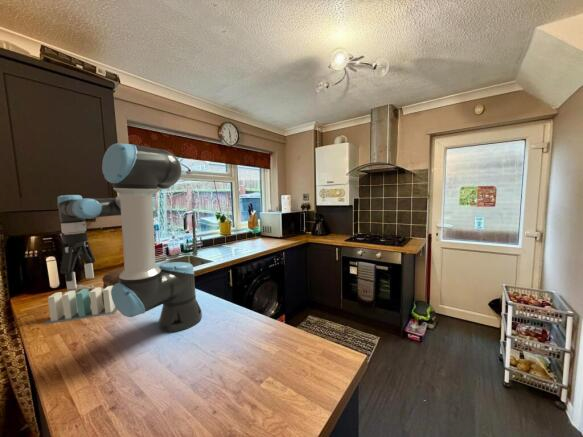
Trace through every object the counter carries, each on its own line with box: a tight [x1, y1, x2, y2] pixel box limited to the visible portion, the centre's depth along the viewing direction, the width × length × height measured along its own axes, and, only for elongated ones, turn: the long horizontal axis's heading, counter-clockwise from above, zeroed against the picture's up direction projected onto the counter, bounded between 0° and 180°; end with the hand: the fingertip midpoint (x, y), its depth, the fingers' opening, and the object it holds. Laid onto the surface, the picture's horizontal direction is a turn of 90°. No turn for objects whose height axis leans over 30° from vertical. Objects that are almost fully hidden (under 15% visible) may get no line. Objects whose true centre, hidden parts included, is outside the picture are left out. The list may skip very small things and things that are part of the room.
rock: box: [63, 284, 104, 309], centre depth 114 cm, size 25×9×15 cm
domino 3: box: [89, 286, 104, 315], centre depth 101 cm, size 2×5×10 cm, turn 17°
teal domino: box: [76, 289, 92, 317], centre depth 100 cm, size 2×5×10 cm, turn 17°
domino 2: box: [62, 290, 78, 319], centre depth 99 cm, size 2×5×10 cm, turn 18°
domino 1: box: [47, 291, 65, 321], centre depth 97 cm, size 2×5×10 cm, turn 18°
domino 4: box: [102, 286, 116, 313], centre depth 103 cm, size 2×5×10 cm, turn 18°
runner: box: [41, 306, 118, 326], centre depth 101 cm, size 24×9×1 cm, turn 108°
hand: (81, 283), depth 99 cm, fingers open, 13 cm apart
